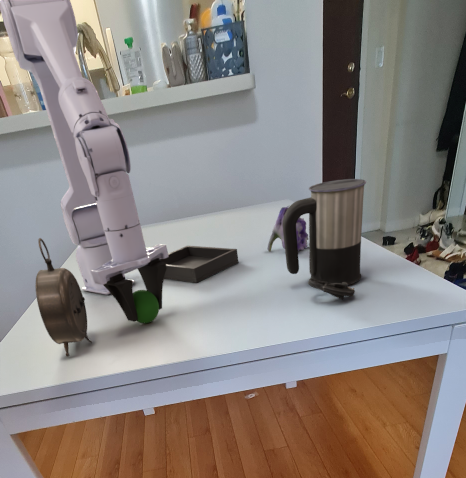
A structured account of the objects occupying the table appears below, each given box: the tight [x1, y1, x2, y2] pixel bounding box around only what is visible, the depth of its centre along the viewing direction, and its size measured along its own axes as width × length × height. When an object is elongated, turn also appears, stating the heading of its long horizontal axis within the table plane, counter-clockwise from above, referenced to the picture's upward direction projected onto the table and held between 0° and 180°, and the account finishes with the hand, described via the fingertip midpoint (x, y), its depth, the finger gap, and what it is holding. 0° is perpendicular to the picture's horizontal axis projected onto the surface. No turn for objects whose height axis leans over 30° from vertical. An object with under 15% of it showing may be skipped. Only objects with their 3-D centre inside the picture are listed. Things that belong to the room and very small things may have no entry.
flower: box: [267, 205, 309, 253], centre depth 100 cm, size 9×9×10 cm
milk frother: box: [283, 178, 367, 301], centre depth 76 cm, size 14×16×15 cm
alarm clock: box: [34, 237, 93, 358], centre depth 72 cm, size 11×5×16 cm, turn 5°
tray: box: [160, 245, 239, 284], centre depth 101 cm, size 16×14×3 cm
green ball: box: [133, 289, 160, 324], centre depth 79 cm, size 5×5×5 cm
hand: (145, 314), depth 80 cm, fingers closed on green ball, 5 cm apart
